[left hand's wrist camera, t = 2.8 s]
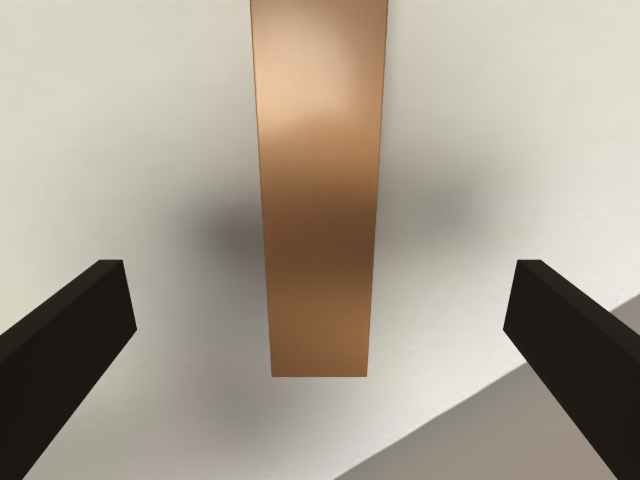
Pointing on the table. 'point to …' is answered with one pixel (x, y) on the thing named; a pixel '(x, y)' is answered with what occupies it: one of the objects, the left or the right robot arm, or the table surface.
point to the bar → (319, 176)
